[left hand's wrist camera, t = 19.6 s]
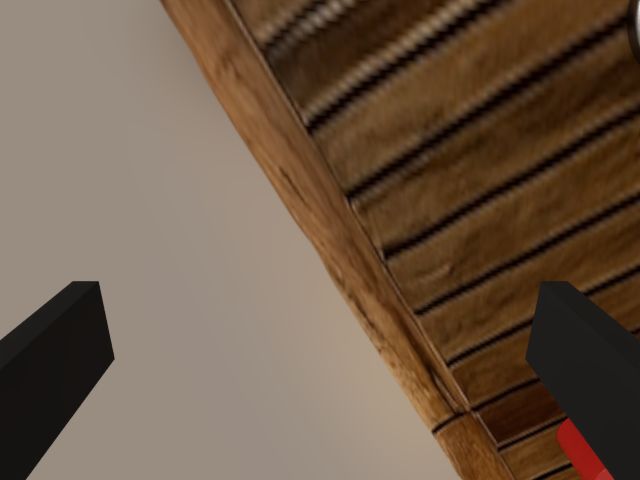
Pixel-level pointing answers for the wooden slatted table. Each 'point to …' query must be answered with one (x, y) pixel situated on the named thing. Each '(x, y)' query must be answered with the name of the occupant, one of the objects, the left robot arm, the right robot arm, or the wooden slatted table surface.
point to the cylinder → (581, 453)
